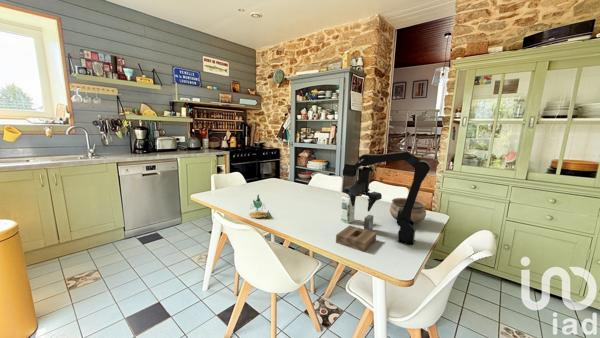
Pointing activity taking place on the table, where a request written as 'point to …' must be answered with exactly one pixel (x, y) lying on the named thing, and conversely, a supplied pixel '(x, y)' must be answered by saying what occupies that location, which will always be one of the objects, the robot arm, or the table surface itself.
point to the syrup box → (347, 210)
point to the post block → (356, 238)
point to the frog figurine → (259, 214)
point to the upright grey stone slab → (368, 222)
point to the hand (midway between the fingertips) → (360, 208)
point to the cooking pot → (417, 210)
